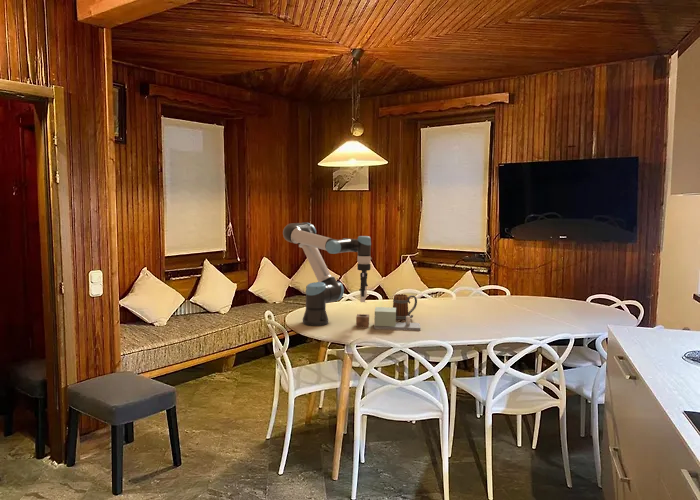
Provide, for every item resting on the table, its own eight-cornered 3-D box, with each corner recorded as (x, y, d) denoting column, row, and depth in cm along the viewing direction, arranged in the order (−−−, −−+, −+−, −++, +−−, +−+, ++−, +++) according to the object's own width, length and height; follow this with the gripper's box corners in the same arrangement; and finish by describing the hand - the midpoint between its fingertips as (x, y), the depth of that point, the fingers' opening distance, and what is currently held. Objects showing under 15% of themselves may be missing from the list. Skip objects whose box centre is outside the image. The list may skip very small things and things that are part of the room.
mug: (394, 321, 330) (394, 297, 328) (389, 317, 340) (390, 293, 339) (418, 320, 333) (419, 296, 331) (413, 317, 343) (414, 293, 342)
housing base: (374, 328, 312) (374, 317, 311) (375, 323, 324) (375, 312, 323) (420, 330, 310) (420, 319, 309) (419, 325, 321) (420, 314, 321)
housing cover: (374, 325, 312) (374, 311, 311) (375, 320, 324) (375, 306, 323) (395, 326, 311) (395, 312, 310) (395, 321, 322) (396, 307, 322)
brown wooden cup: (356, 327, 315) (356, 316, 315) (357, 324, 322) (357, 314, 321) (368, 327, 315) (368, 317, 314) (369, 324, 322) (369, 314, 321)
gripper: (369, 266, 302) (368, 304, 304) (371, 260, 326) (371, 295, 329) (355, 265, 302) (355, 303, 305) (359, 260, 327) (358, 295, 329)
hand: (363, 299), depth 317 cm, fingers open, 13 cm apart
